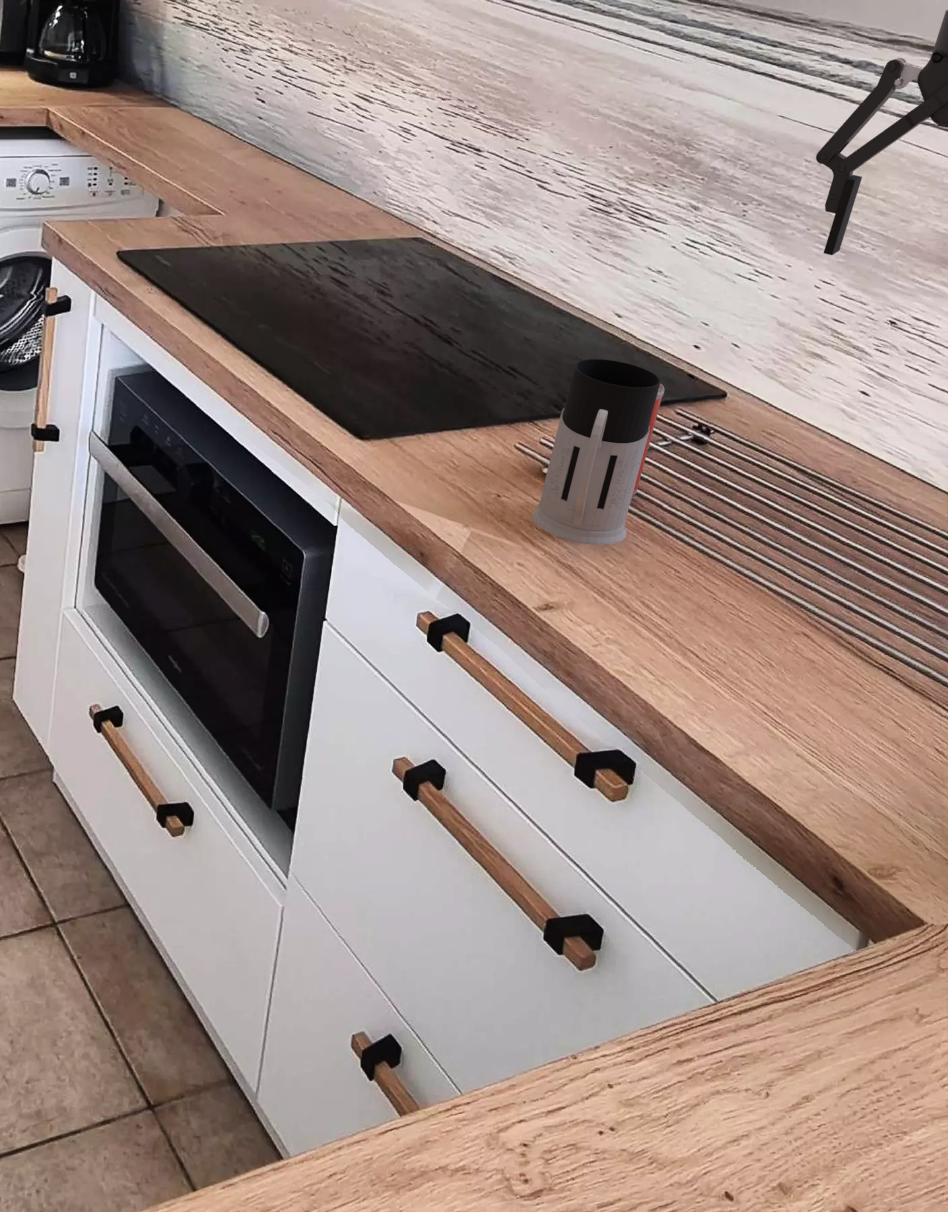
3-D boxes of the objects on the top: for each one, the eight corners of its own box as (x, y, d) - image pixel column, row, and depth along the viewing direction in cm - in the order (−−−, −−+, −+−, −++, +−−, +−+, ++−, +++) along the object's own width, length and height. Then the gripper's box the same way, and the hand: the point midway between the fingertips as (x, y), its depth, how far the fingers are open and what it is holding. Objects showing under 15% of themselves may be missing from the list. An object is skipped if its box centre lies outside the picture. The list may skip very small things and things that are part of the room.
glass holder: (631, 521, 150) (672, 370, 143) (612, 578, 138) (656, 416, 131) (539, 499, 152) (575, 349, 145) (513, 553, 140) (550, 392, 133)
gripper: (828, -13, 130) (755, 243, 140) (1169, 38, 118) (1064, 314, 128) (849, -16, 136) (778, 231, 145) (1177, 34, 124) (1075, 298, 133)
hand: (911, 271), depth 137 cm, fingers open, 13 cm apart
